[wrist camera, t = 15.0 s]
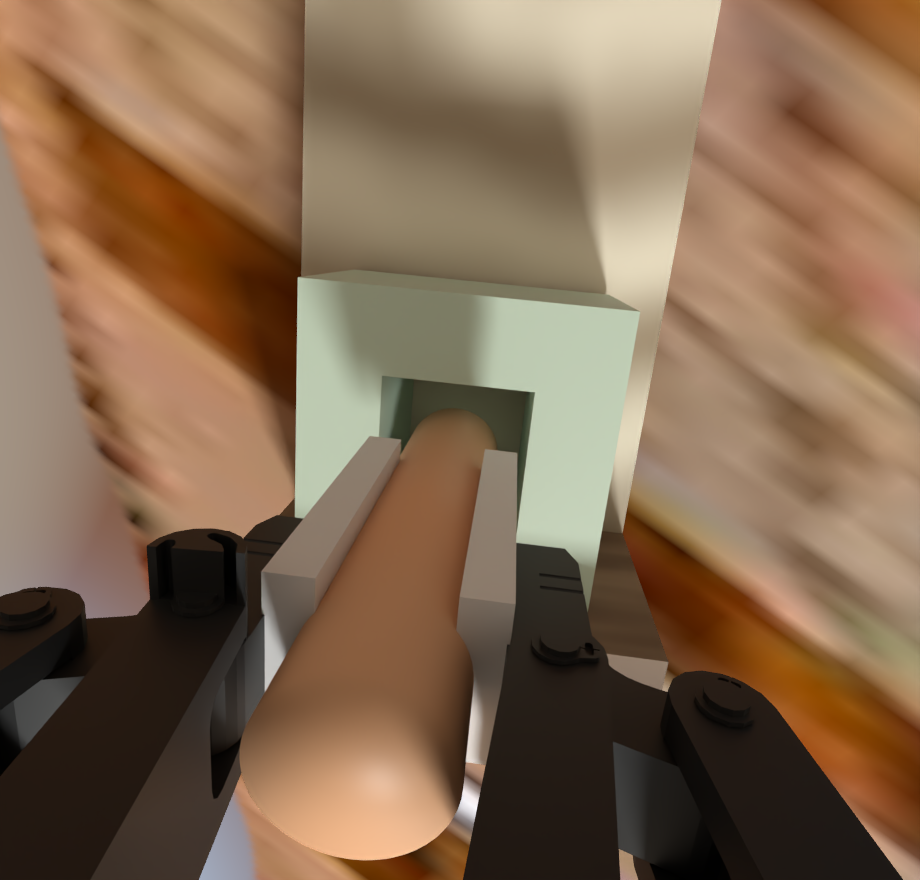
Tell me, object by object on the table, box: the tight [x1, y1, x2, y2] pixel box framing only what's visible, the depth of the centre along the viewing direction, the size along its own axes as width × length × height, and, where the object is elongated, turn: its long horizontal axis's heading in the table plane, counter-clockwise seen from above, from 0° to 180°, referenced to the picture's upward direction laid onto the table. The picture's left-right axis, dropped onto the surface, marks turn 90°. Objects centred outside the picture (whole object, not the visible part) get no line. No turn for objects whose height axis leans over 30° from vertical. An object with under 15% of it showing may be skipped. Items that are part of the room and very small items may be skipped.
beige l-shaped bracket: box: [279, 0, 721, 690], centre depth 19 cm, size 22×13×10 cm, turn 175°
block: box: [295, 269, 640, 612], centre depth 21 cm, size 9×9×6 cm
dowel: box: [239, 408, 497, 860], centre depth 13 cm, size 3×3×12 cm
